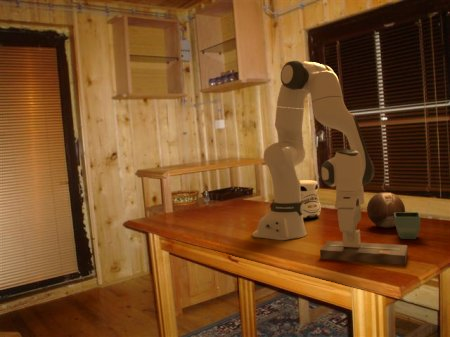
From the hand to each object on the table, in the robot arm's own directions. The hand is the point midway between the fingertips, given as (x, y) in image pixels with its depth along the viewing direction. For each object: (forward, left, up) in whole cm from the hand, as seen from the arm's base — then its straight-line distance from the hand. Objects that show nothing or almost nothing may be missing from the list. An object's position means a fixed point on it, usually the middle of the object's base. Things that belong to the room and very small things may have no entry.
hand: (351, 239), depth 137 cm
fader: (0, 0, -2) cm, 2 cm away
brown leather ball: (+7, +44, -6) cm, 45 cm away
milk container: (-33, +58, -6) cm, 67 cm away
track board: (+4, 0, -6) cm, 7 cm away
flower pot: (+16, +28, -6) cm, 33 cm away
